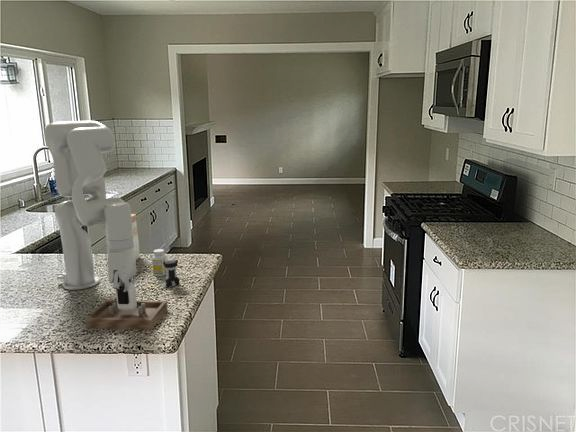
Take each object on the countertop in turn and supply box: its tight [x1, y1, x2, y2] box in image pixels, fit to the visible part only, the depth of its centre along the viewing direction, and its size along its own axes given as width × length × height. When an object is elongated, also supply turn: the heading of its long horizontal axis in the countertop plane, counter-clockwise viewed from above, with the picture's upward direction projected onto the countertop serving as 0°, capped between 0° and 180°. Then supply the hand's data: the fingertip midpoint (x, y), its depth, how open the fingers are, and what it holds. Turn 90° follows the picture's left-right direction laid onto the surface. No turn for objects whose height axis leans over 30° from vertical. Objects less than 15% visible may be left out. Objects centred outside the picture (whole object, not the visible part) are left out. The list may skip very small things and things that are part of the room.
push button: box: [160, 257, 180, 288], centre depth 174 cm, size 7×5×10 cm
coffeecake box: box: [103, 213, 141, 261], centre depth 200 cm, size 15×7×20 cm, turn 172°
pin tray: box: [84, 299, 168, 331], centre depth 148 cm, size 20×14×4 cm
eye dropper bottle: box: [115, 280, 138, 310], centre depth 146 cm, size 4×6×12 cm
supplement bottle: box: [151, 248, 167, 277], centre depth 186 cm, size 5×5×10 cm
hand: (126, 300), depth 147 cm, fingers closed on eye dropper bottle, 3 cm apart
